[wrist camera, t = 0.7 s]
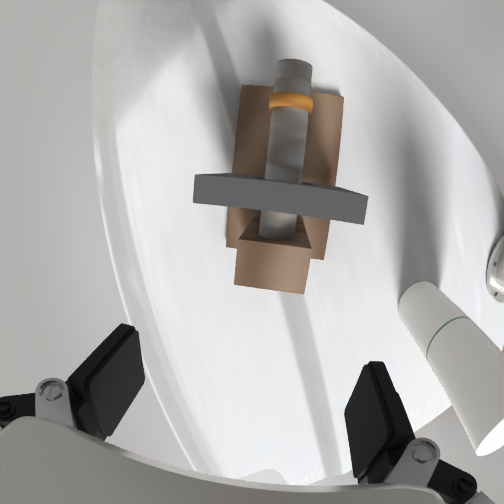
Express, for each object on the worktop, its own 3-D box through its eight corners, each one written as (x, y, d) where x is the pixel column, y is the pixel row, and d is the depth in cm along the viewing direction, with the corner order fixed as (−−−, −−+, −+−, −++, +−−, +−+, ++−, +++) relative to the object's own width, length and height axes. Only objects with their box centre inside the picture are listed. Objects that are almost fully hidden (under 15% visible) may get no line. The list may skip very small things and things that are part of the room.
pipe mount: (341, 99, 29) (367, 65, 17) (322, 257, 35) (337, 298, 23) (243, 87, 30) (221, 49, 18) (228, 244, 36) (200, 279, 24)
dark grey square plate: (337, 186, 29) (368, 196, 18) (335, 204, 30) (363, 224, 18) (229, 173, 30) (194, 174, 19) (227, 191, 31) (192, 202, 19)
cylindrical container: (410, 333, 36) (480, 462, 12) (389, 303, 35) (470, 444, 11) (445, 303, 34) (538, 413, 10) (427, 271, 33) (540, 382, 9)
